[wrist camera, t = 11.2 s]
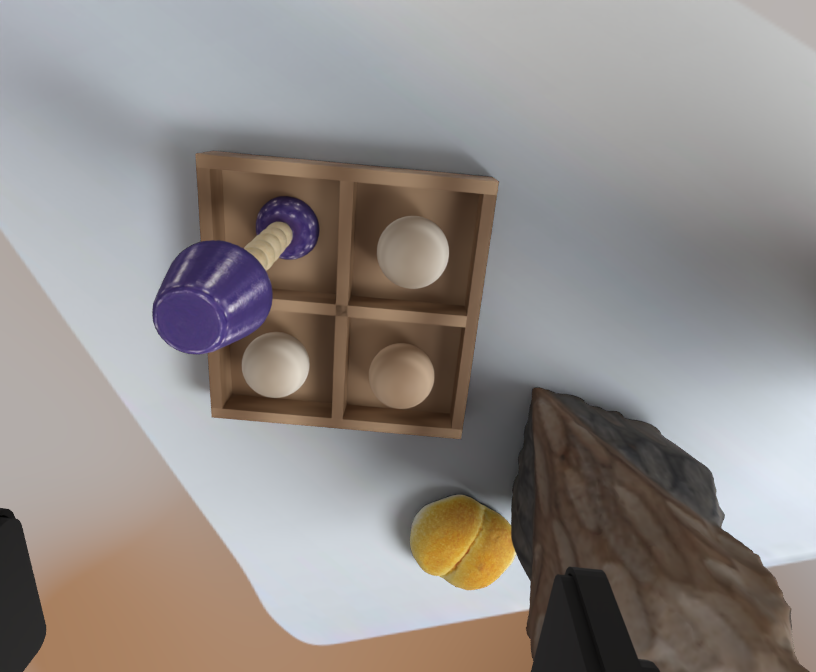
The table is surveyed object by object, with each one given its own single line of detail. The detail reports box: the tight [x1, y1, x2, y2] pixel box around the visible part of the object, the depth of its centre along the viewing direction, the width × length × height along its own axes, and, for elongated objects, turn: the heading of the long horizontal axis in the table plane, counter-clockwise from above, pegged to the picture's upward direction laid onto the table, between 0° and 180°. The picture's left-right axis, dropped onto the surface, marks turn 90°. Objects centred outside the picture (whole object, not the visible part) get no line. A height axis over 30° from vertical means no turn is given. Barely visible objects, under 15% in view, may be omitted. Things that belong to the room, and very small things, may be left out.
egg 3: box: [369, 343, 434, 409], centre depth 37 cm, size 5×5×5 cm
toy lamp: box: [152, 196, 319, 354], centre depth 28 cm, size 5×5×17 cm
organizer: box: [195, 151, 499, 439], centre depth 37 cm, size 18×18×3 cm
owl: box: [511, 387, 809, 672], centre depth 34 cm, size 13×13×20 cm
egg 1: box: [242, 332, 310, 398], centre depth 37 cm, size 5×5×5 cm
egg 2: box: [377, 216, 449, 289], centre depth 34 cm, size 5×5×5 cm
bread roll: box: [410, 495, 516, 590], centre depth 44 cm, size 8×9×4 cm
